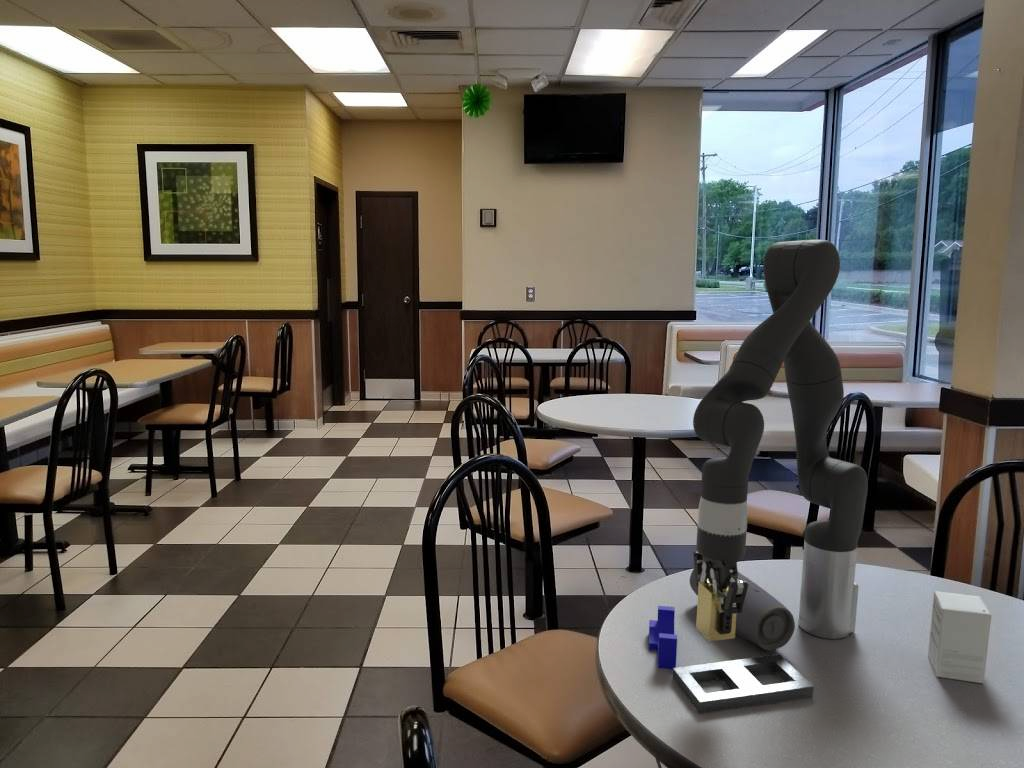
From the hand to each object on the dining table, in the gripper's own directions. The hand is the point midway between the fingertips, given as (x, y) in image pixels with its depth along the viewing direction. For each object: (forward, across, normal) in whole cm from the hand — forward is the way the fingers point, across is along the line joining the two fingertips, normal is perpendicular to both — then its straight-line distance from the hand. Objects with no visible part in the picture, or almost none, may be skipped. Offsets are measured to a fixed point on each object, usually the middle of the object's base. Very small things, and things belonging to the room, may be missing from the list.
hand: (716, 624), depth 122 cm
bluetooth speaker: (+12, +19, -15) cm, 27 cm away
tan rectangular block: (+1, 0, 0) cm, 1 cm away
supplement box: (+12, -3, -44) cm, 46 cm away
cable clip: (+12, +14, +3) cm, 19 cm away
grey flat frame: (+12, 0, -5) cm, 13 cm away
